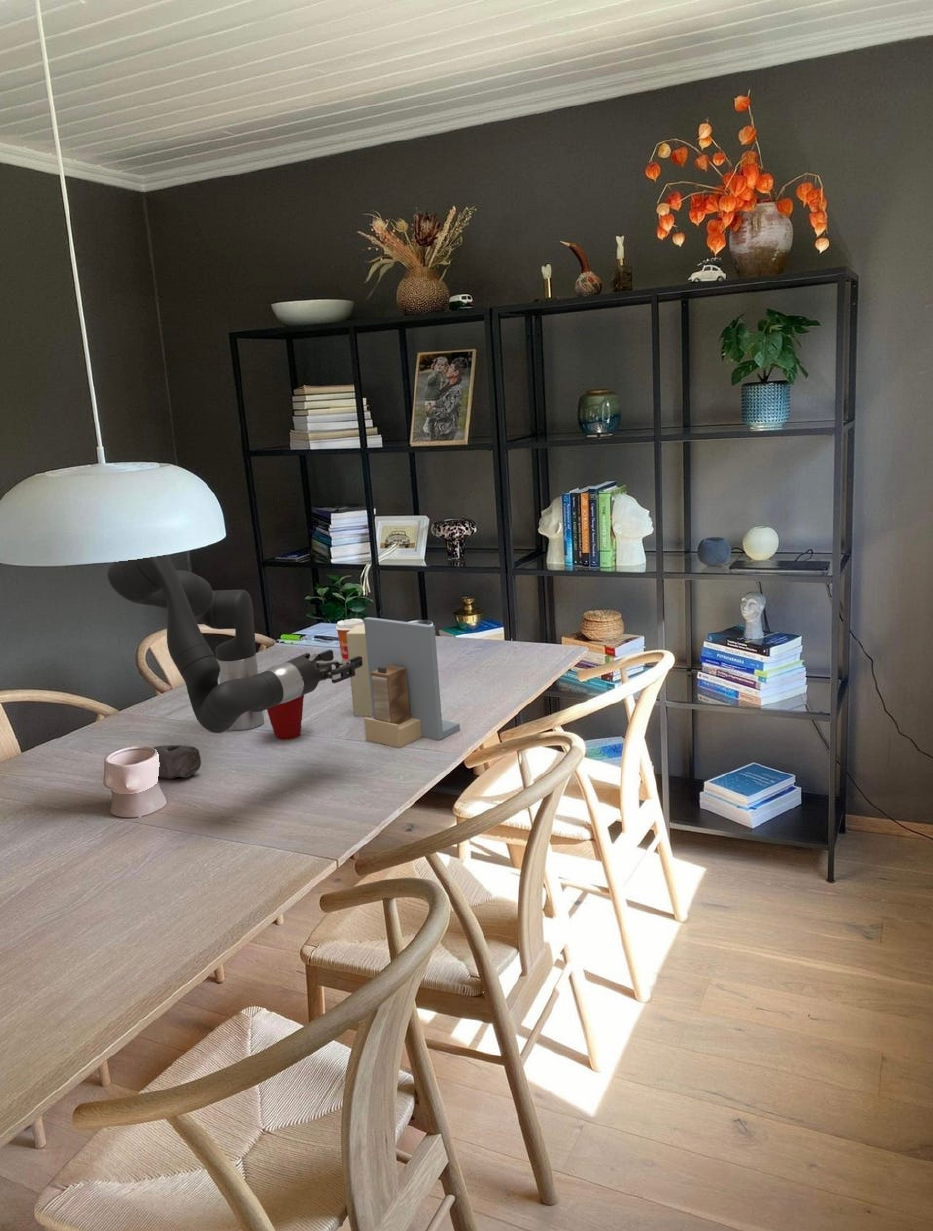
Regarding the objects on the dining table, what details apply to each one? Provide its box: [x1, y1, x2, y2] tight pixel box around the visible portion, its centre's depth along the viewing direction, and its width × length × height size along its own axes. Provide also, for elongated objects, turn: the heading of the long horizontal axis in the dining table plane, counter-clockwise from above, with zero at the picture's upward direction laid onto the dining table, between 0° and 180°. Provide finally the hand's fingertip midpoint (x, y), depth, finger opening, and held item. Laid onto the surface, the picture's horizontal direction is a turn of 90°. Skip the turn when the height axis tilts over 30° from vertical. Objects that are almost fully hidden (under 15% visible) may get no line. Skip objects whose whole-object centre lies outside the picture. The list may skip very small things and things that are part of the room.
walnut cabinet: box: [371, 665, 410, 724], centre depth 209 cm, size 6×5×13 cm
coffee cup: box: [335, 618, 364, 666], centre depth 263 cm, size 8×8×15 cm
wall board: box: [363, 616, 461, 749], centre depth 211 cm, size 15×20×26 cm
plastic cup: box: [266, 695, 305, 741], centre depth 217 cm, size 11×11×12 cm
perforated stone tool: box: [151, 744, 202, 780], centre depth 198 cm, size 15×5×7 cm, turn 73°
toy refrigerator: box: [346, 625, 373, 717], centre depth 229 cm, size 8×7×21 cm
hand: (346, 657), depth 198 cm, fingers open, 8 cm apart
